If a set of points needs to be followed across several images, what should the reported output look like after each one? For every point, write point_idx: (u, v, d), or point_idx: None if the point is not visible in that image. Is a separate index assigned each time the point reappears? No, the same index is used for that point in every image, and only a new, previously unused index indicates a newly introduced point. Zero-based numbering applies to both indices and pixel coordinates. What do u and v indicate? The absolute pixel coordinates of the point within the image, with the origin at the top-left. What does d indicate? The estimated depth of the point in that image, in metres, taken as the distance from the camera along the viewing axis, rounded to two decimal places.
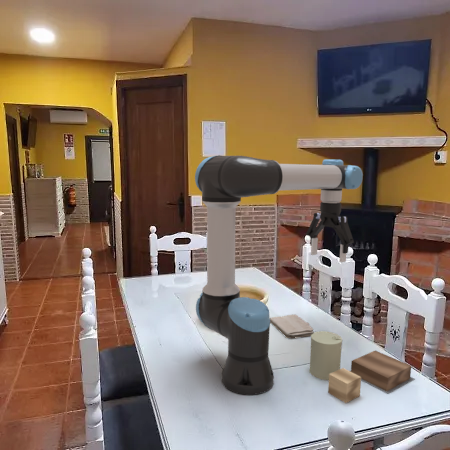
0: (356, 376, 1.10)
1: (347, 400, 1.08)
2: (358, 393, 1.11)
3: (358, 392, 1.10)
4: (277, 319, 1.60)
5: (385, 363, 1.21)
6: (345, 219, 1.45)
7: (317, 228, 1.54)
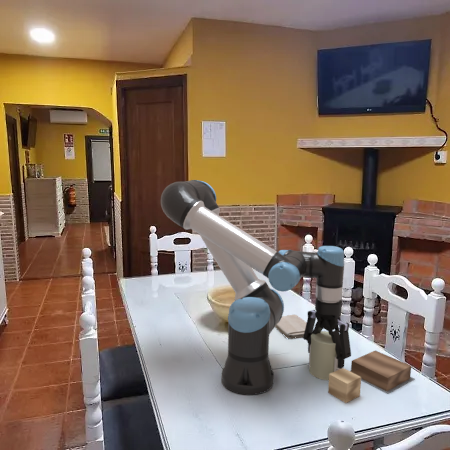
0: (356, 376, 1.10)
1: (347, 400, 1.08)
2: (358, 393, 1.11)
3: (358, 392, 1.10)
4: None
5: (385, 363, 1.21)
6: (346, 327, 1.16)
7: (314, 331, 1.24)
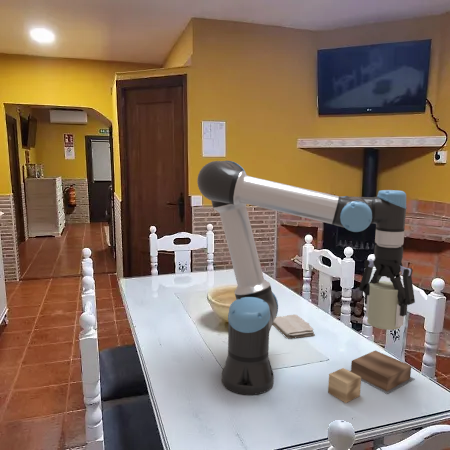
0: (356, 376, 1.10)
1: (347, 400, 1.08)
2: (358, 393, 1.11)
3: (358, 392, 1.10)
4: (277, 319, 1.60)
5: (385, 363, 1.21)
6: (410, 272, 1.11)
7: (373, 280, 1.19)
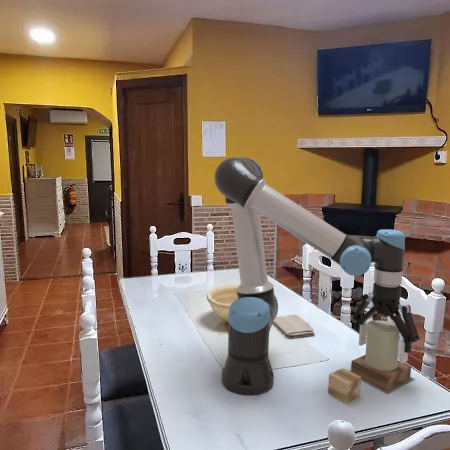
0: (356, 376, 1.10)
1: (347, 400, 1.08)
2: (358, 393, 1.11)
3: (358, 392, 1.10)
4: (278, 319, 1.60)
5: None
6: (408, 309, 1.13)
7: (368, 314, 1.22)
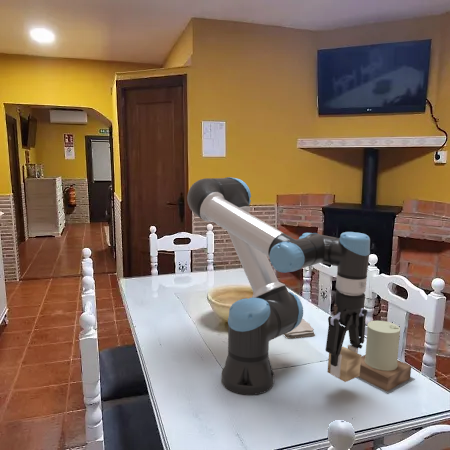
0: (356, 354, 1.10)
1: (347, 378, 1.07)
2: (358, 372, 1.10)
3: (358, 370, 1.10)
4: None
5: None
6: (332, 322, 1.04)
7: None
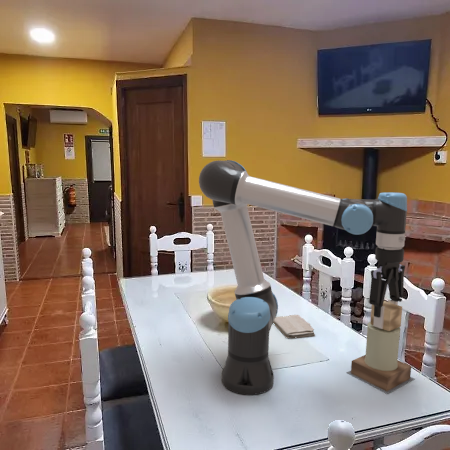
0: (397, 306, 1.18)
1: (390, 327, 1.15)
2: (399, 322, 1.18)
3: (399, 321, 1.18)
4: (279, 319, 1.60)
5: None
6: (375, 275, 1.13)
7: None
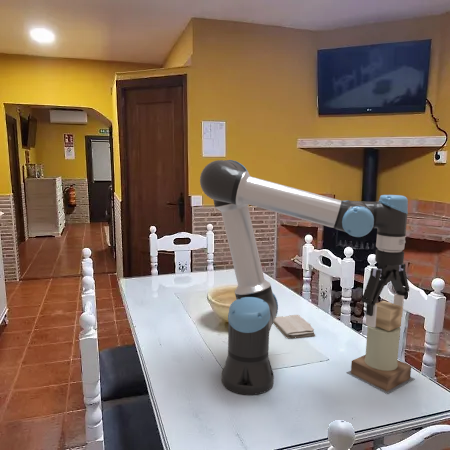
0: (397, 306, 1.18)
1: (390, 327, 1.15)
2: (400, 322, 1.18)
3: (399, 321, 1.18)
4: (279, 319, 1.60)
5: None
6: (374, 272, 1.12)
7: None
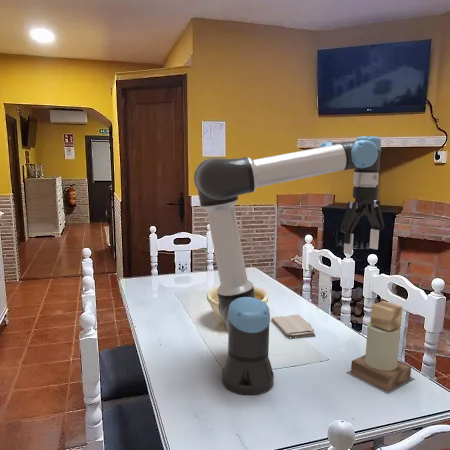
0: (397, 306, 1.18)
1: (390, 327, 1.15)
2: (400, 322, 1.18)
3: (399, 321, 1.18)
4: (279, 319, 1.60)
5: None
6: (351, 205, 1.26)
7: None
